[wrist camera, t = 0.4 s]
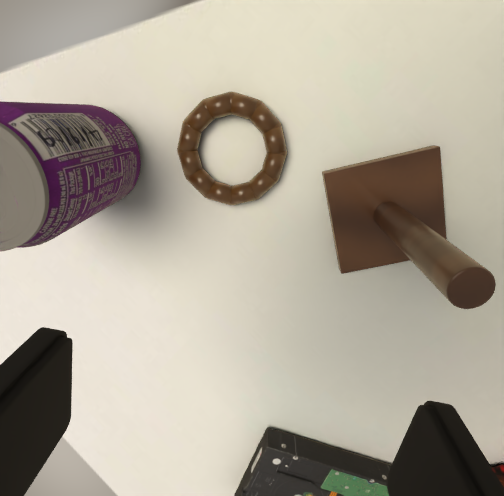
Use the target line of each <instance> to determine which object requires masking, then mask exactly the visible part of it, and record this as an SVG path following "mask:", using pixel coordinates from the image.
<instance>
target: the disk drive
mask: <svg viewBox="0 0 504 496" xmlns="http://www.w3.org/2000/svg"><path fill="white" fill-rule="evenodd" d="M391 466H392V465H390V464H387V463H384V462H381V461H377V460H374V459H371V458H368V457H365V456H362V455H358V454H355V453H352V452H349V451H345V450H341V449H338V448H335V447H332V446H329V445H325V444H322V443H319V442H316V441H313V440H309V439H306V438H303V437H300V436H297V435H293V434H290V433H286V432H283V431H278V430H274V429H273V430H272V429H271V428H267V429H266V431H265V433H264V435H263V437H262V439H261V441H260V443H259V445H258V447H257V449H256V452H255V453H254V456H253V457H252V459H251V461H250V464H249V466H248V468H247V470H246V472H245V474H244V476H243V478H242V480H241V482H240V485H239V487H238V489H237V491H236V493H235V496H389V493H388V490H387V475H388V472H389V470H390V468H391Z"/></svg>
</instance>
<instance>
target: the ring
mask: <svg viewBox="0 0 504 496" xmlns="http://www.w3.org/2000/svg"><path fill="white" fill-rule="evenodd" d="M231 114H233V115H236V116H239V117H243V118H246V119H249V120H251V122H252V123H253V124H254V125H255V126H256V127H257V128H258V129H259V130H260V131H261V133H262V134H263V137H264V142H265V146H266V151H267V154H266V157H265V160H264V164H263V167H262V170H261V171H260V172H259V173H258V174H257V175H256V176H255V177H254V178H253V179H252V180H250V181H249V182H247V183H243V184H238V185H234V186H230V185H227V184H224V183H220V182H217V181H215V180H214V179H213V178H212V177H211V176H210V175H209V174H208V173H207V172H206V171H205V170H204V169H203V168H202V164H201V161H200V157H199V154H198V146H199V142H200V137H201V133H202V131H203V130H204V129H205V128H206V127H207V126H208V125H209V124H210V123H211V122H212V121H213V120H214V119H216V118H220V117H224V116H227V115H231ZM177 152H178V155H179V158H180V162H181V165H182V168H183V172H184V175H185V177H186V179H187V180H188V181H189V182H190V183H191V184H192V185H193V186H194V187H195V188H196V189H197V190H198V191H199V192H200V193H201V194H202V195H203V196H204V197H205V198H208V199H211V200H214V201H218V202H221V203H224V204H228V205H237V204H241V203H245V202H250V201H254V200H257V199H259V198H260V197H261V196H263V195H264V194H265V193H266V192H267V191H268V190H269V189H270V188H271V187H272V186H273V185H274V184H275V183H277V181H278V180H279V178H280V174H281V171H282V168H283V165H284V162H285V159H286V155H287V149H286V144H285V139H284V134H283V130H282V125H281V123H280V121H279V120H278V119H277V118H276V117H275V116H274V115H273V113H272V112H271V111H270V110H269V109H268V108H267V107H266V106H265V104H264V103H263V102H262V101H260V100H258V99H255V98H252V97H248V96H245V95H242V94H239V93H236V92H228V93H224V94H221V95H217V96H213V97H210V98H206V99H204V100H202V101H201V102H200V103H199V104H198V105H197V106H196V108H195V109H194V110H193V111H192V112H191V113H190V114H189V115H188V116H187V117H186V118H185V120H184V121H183V124H182V129H181V133H180V138H179V143H178V148H177Z"/></svg>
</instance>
